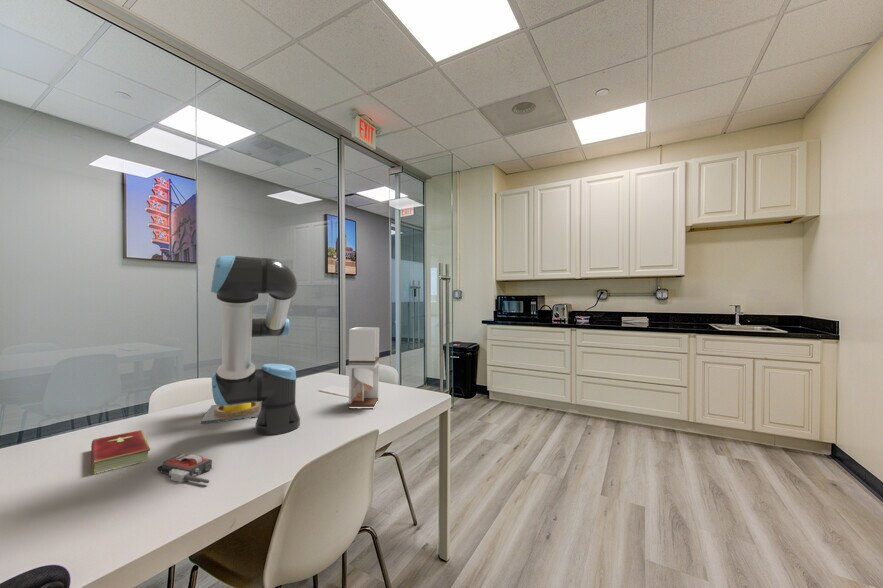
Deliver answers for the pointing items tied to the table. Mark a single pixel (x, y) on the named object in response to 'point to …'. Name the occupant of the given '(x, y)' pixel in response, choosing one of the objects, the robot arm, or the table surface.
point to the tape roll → (237, 407)
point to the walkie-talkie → (186, 468)
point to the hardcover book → (119, 451)
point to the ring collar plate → (230, 413)
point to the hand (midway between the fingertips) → (237, 401)
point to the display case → (363, 366)
